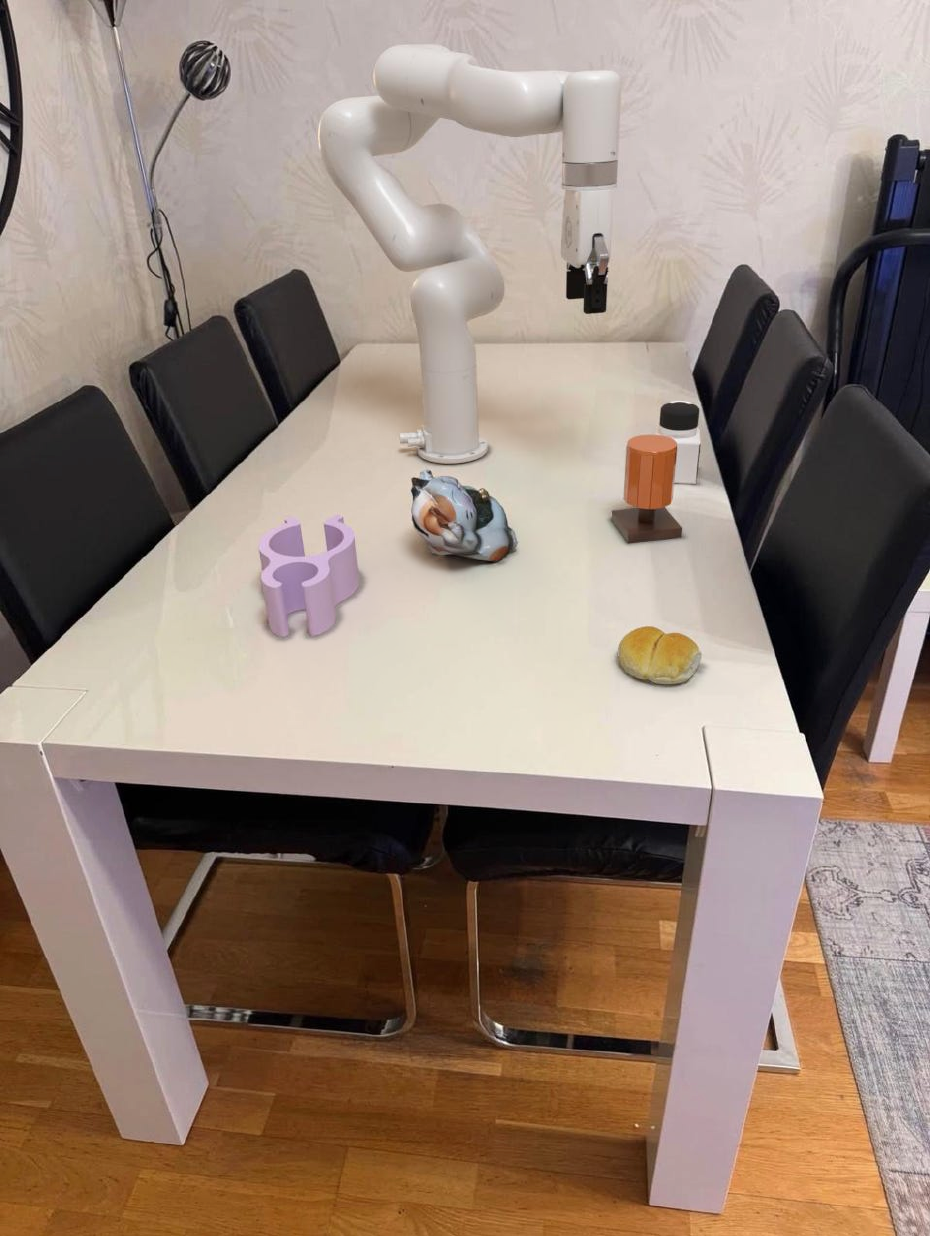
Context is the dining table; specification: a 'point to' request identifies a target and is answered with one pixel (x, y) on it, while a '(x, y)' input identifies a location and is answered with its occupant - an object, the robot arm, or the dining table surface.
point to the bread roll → (659, 655)
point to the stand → (646, 524)
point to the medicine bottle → (682, 437)
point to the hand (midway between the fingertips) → (585, 305)
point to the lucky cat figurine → (460, 519)
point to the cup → (650, 471)
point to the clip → (307, 574)
